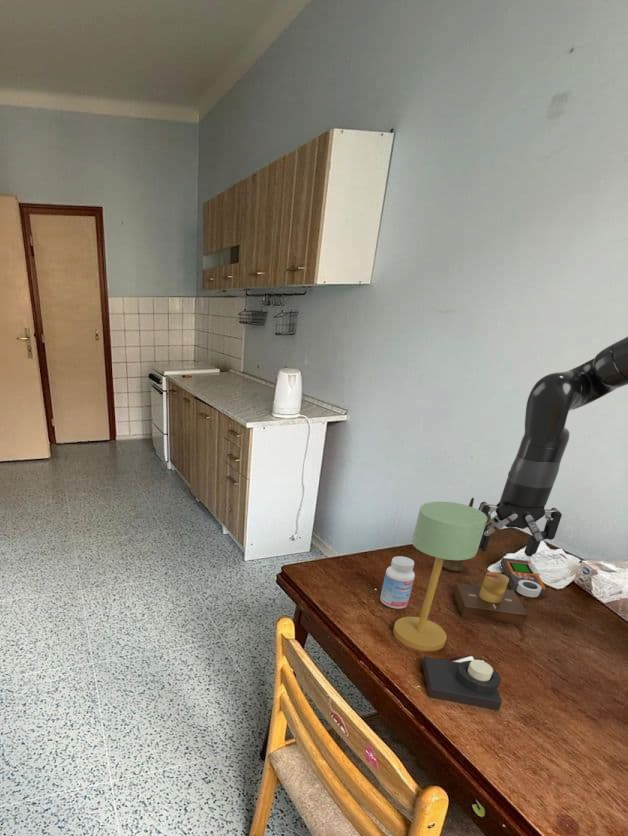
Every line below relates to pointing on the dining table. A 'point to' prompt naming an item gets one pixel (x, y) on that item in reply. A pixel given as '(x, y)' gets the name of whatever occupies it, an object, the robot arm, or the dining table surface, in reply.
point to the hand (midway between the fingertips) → (504, 552)
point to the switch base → (460, 684)
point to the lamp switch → (480, 670)
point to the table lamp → (440, 562)
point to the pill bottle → (398, 583)
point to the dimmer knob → (493, 587)
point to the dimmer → (489, 606)
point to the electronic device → (523, 577)
